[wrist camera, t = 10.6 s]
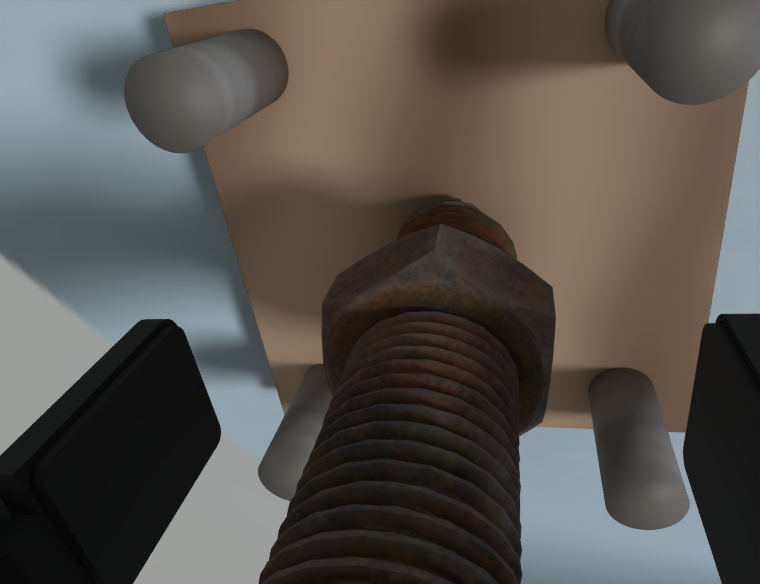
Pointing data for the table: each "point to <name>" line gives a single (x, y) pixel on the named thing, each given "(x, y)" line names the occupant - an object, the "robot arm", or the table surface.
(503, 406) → the bolt
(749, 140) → the table surface
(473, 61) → the peg holder
